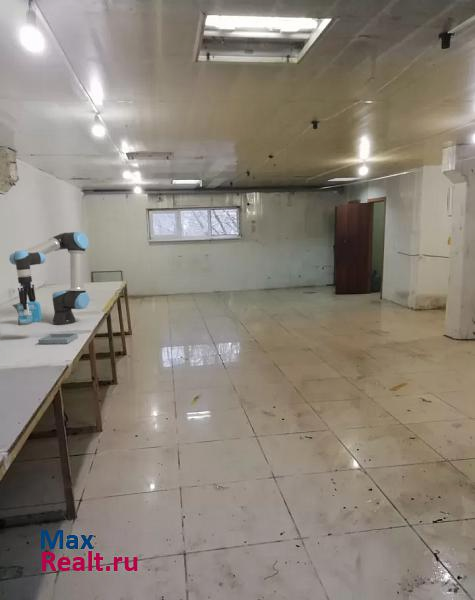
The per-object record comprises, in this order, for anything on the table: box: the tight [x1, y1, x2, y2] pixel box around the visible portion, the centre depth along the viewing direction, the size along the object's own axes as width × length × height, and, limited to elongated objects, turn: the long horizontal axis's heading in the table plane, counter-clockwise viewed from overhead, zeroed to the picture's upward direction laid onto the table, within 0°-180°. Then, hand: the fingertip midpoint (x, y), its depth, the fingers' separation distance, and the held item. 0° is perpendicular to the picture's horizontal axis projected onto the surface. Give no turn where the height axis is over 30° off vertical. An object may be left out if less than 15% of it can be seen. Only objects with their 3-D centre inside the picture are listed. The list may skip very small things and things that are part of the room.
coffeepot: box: [11, 302, 33, 326], centre depth 308 cm, size 15×9×18 cm, turn 121°
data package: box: [17, 301, 43, 324], centre depth 261 cm, size 12×4×12 cm, turn 100°
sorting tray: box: [37, 332, 79, 346], centre depth 256 cm, size 14×18×3 cm
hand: (29, 313), depth 261 cm, fingers closed on data package, 5 cm apart
